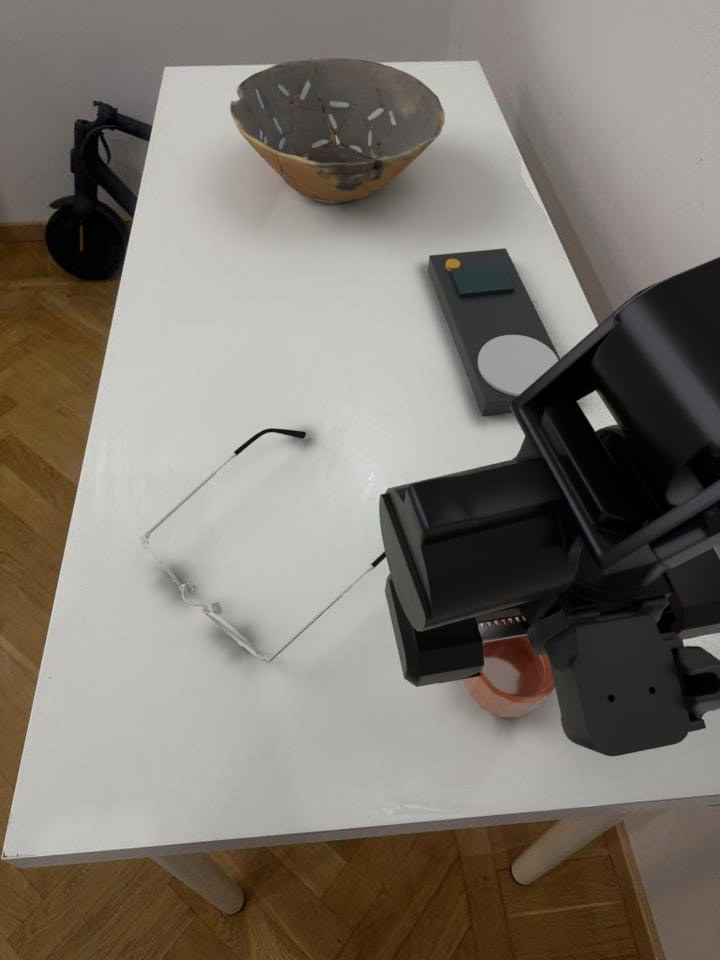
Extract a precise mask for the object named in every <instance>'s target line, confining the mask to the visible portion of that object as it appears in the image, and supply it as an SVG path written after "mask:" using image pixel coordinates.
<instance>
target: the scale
mask: <svg viewBox="0 0 720 960" xmlns="http://www.w3.org/2000/svg"><path fill="white" fill-rule="evenodd" d="M427 272H428V275H429V277H430V281H431V283H432V286H433V288H434V291H435V294H436V297H437V299H438V301H439V305H440V308H441V310H442V312H443V315H444V318H445V320H446V323H447V325H448V328H449V331H450V333H451V336H452V339H453V341H454V344H455V348H456V350H457V352H458V355H459V358H460V360H461V364H462V365H463V368H464V369H463V370H464V371H465V374H466V376H467V379H468V382H469V385H470V388H471V390H472V393H473V395H474V398H475V401H476V404H477V406H478V408H479V411H480V414H481V416H482V417H485V416H494V415H500V414H501V415H502V414H508V413H509V414H511V413H513V412H512V411H511V409H510V404H511V402H512V401H513V400H514V399H515V398H517V397H518V396H519V395H520V394H521V393H522V392H523V391H524V390H526V389H527V388H528V387H529V386H530V385H531V384H532V383H534V382H535V381H536V380H537V379H538V378H539V377H540V376H542V375H543V374H544V373H545V372H546V371H547V370H548V369H550V368H551V367H552V366H553V365H554V364H555V363H556V362H557V361H559V360H560V359H561V358H560V355H559V353H558V351H557V349H556V347H555V345H554V343H553V341H552V339H551V337H550V335H549V333H548V331H547V329H546V327H545V325H544V323H543V320H542V319H541V317H540V315H539V313H538V311H537V308H536V307H535V305H534V303H533V300H532V298H531V297H530V294H529V292H528V290H527V288H526V286H525V285H524V282H523V280H522V278H521V276H520V274H519V273H518V269H517V268H516V266H515V264H514V262H513V261H512V258H511V256H510V254H509V252H508V249H507V248H505V247H504V248H493V249H484V250H483V249H482V250H474V251H473V250H472V251H463V252H452V253H441V254H430V255H429V256H428V264H427Z"/></svg>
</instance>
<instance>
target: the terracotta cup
mask: <svg viewBox="0 0 720 960" xmlns="http://www.w3.org/2000/svg"><path fill="white" fill-rule="evenodd" d="M522 617H523V616H522ZM518 618H519V617H516V618H515V619H516V620H517V621H518ZM511 619H512V618H510V619H508V620H509V621H510V623H511ZM523 619H524V617H523ZM524 620H525V619H524ZM501 621H502V622H503V624H504V620H501ZM494 622H495V624H496V625H497V621H494ZM490 623H491V622H487V624H488V625H489V626H490ZM483 655H484V667H483V668H482V670H481V672H480V673H481V676H478V677H472V678H467V679H464V683H465V685H466V689H467V692H468V693H469V696H470V697H472V698H473V700H474V701H475V702H476V703H477V704H478V706H479V707H480V708H481V709H483V711H484V710H485V711H486V712H488V713H491V714H493V715H495V716H497V717H499V718H522V717H523V716H525V715H528V714H529V713H531V712H532V711H535V710H536V709H538V707H539V706H540V705H541V704H542V703H543V702H544V701H545V700H546V699H547V698H548V697H549V696H550V695H551V694H552V693H553V691H554V690H555V685H554V680H553V676H552V671H551V665H550V663H549V660H548V657H547V654H542V655H536V656H534V653H533V650H532V647H531V644H530V641H529V638H528V635H527V636H521V637H515V638H510V639H504V640H498V641H492V642H486V643H483Z"/></svg>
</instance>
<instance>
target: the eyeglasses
mask: <svg viewBox="0 0 720 960" xmlns="http://www.w3.org/2000/svg"><path fill="white" fill-rule="evenodd" d="M270 433H275V434H280V435H285V436H290V437H293V438H297V439H301V440H303V439H305V438H306V436H307V432H306V431H303V430H295V429H288V428H287V429H286V428H274V427H273V428H271V427H269V428H266V429H263V430H261V431H259V432H257V433H256V434H254V435H253V436H252V437H250V438H248V440H247V441H245V442H244V443H243V444H241V445H240V446H239V447H237V448H236V450H234V451H233V452H232V454H231V455H230V456H229V458H228V459H227V460H226V461H225V462H224V463H222V464H221V465H220V466H219V467H218V468H217V469H216V470H214V471H212V472H211V473H210V474H209V475H208V476H207V477H206V478H204V479H203V481H201V482H200V483H199V484H198V485H197V486H195V488H193V489H192V491H190V492H189V493H188V494H187V495H186V496H185V497H183V498H182V499H181V500H180V501H179V502H178V503H177V504H175V505H174V506H173V507H172V508H171V509H170V510H169V511H168V512H167V513H166V514H164V515H163V516H162V517H161V518H160V519H159V520H157V522H155V524H153V525H152V526H151V527H150V528H149V529H148V530H147V531H146V532H144V533H143V534H142V535H141V536H140V537H139V539H140V541H141V545H142V547H144V548H145V549H146V550H148V552H149V553H150V554H151V555H152V557H153V558H154V559H155V560H156V562H157V563H158V564H159V565H160V566H161V567H162V568H163V570H164V571H165V572H166V573H167V574H168V575H169V576H170V578H171V580H172V581H173V582H174V583H175V584H176V585H177V586H178V588H179V590H180V592H181V597H182V599H183V600H184V602H185V603H187V604H188V605H190V606H194V607H202V608H201V609H202V610H201V612H202V614H204V615H205V616H207V617H208V618H209V619H210V620H211V621H212V622H213V623H214V624H215V625H216V626H218V627H219V628H220V629H221V630H222V631H223V632H224V633H225V634H227V636H229V637H230V638H232V639H233V640H234V641H235V642H236V643H237V645H238V646H240V647H241V648H244V649H245V650H247V651H248V652H249V653H251V654H252V655H253V656H255V657H257V658H258V659H259V660H260V661H262V662H263V661H265V662H267V664H270V663H271V662H272V661H273V660H274V659H275V658H276V657H277V656H278V655H280V654H281V653H282V652H283V651H284V650H285V649H286V648H287V647H288V646H290V644H292V643H293V642H294V641H295V640H297V638H298V637H300V636H301V634H302V633H304V632H305V631H306V630H307V629H308V628H309V627H310V626H311V625H312V624H314V623H315V621H317V620H318V619H319V618H320V617H321V616H322V615H324V613H326V612H327V610H329V609H330V608H331V607H332V606H333V605H334V604H335V603H336V602H337V601H339V600H340V599H341V598H342V597H343V596H344V595H345V594H347V592H348V591H349V590H350V589H352V587H353V586H354V585H355V584H357V582H359V581H360V580H361V579H362V578H363V577H364V576H365V575H366V574H368V573H369V572H371V571H373V570H374V569H375V568H377V566H378V565H380V563H382V562H383V561H384V560H385V558H386V554H385V550H383V552H382V553H381V554H380V555H379V556H378V557H377V558H375V560H373V561H372V562H371V563H370V565H369V566H368V567H367V568H366V570H365V571H364V572H363V573H362V574H361V575H359V577H357V578H356V579H355V580H354V581H353V582H352V583H351V584H349V585H348V586H347V587H345V589H344V590H343V591H342V592H340V593H339V594H338V595H337V596H336V597H335V598H334V599H332V601H331V602H329V603H328V604H327V605H326V606H325V607H324V608H323V609H322V610H320V611H319V612H318V613H317V614H316V615H315V616H314V617H313V618H312V619H310V621H308V622H307V623H306V624H305V625H304V626H303V627H301V628H300V629H299V630H298V631H297V632H296V633H295V634H294V635H293V636H291V638H289V639H288V640H287V641H286V642H285V643H284V644H282V646H281V647H279V648H278V649H277V650H276V651H271V652H270V653H269V654H268V653H267V652H262V651H260V650H259V649H258V648H257V647H256V646H255V645H254V644H253V643H251V642H250V640H249V639H247V638H246V637H245V636H244V635H243V634H242V633H241V632H239V630H237V629H236V628H235V627H233V626H232V625H231V624H230V623H229V622H227V621H226V620H224V619H223V618H222V617H220V615H222V614H223V609H222V607H221V604H220V601H217V600H215V601H212V603H211V609H212V611H211V610H210V609H209V608H208V606H207V604H205V603H192V602H190V601H188V600H187V599H186V598H185V595H186V596H188V595H190V592H189V589H191V594H194V593H195V591H196V589H197V585H198V581H194V583H191V582H187V583H182V582H180V580H179V579H178V577H176V575H175V574H174V573H173V572H172V571H171V569H169V567H168V566H167V564H166V563H165V562H164V561H163V560H162V559H161V558H160V557H159V555H158V554H157V553H156V551H154V550H153V548H152V547H151V546H150V544H149V540H148V539H149V538H150V537H151V534H152V533H153V532H154V531H155V530H157V528H158V527H159V526H161V525H162V524H163V523H164V522H165V521H166V520H168V518H170V517H171V516H172V515H173V514H174V513H175V512H176V511H177V510H178V509H180V507H182V505H184V504H185V503H186V502H187V501H188V500H189V499H190V498H191V497H192V496H194V495H195V494H196V493H197V492H198V491H199V490H200V489H201V488H202V487H204V485H206V484H207V483H208V482H209V481H210V480H211V479H212V478H213V477H214V476H215V475H217V473H218V472H219V471H220V470H221V469H222V468H223V467H224V466H226V465H227V464H228V463H229V462H230V461H231V460H233V459H235V458H236V457H237V456H239V455H240V454H241V453H243V451H244V450H246V449H247V448H248V447H249V446H250V445H251V444H253V443H254V442H255V441H257V440H258V439H259V438H261V437H263V436H264V435H266V434H270ZM187 585H189V586H188V587H189V589H188V588H187Z"/></svg>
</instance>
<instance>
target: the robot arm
mask: <svg viewBox="0 0 720 960" xmlns="http://www.w3.org/2000/svg"><path fill="white" fill-rule="evenodd" d="M594 392H595V393H597V395H598V397H599V398H600V399H601V401H602V403H603V404H604V406H605V407H606V408H607V410H608V412H609V413H610V415H611V416H612V418H613V420H614V421H615V423H616V424H611V425H607V426H605V427H602V428H599V429H597V430H595V428H594V427H593V425H592V423H591V422H590V420H589V419H588V417H587V416H586V414H585V412H584V410H583V408H581V406H580V404H579V403H578V401H580V400H582V399H584V398H585V397H587V396H588V395H590V394H592V393H594ZM510 409H511V411H512V412H511V413H512V414H513V416H514V418H515V420H516V421H517V423H518V426H519V427H520V429H521V431H522V433H523V435H524V438H523V440H522V443H521V445H520V448H519V450H518V452H517V454H516V456H514V457H513V458H512V459H509V460H504V461H499V462H496V463H492V464H487V465H481V466H479V467H475V468H469V469H466V470H461V471H457V472H452V473H448V474H443V475H440V476H436V477H435V476H434V477H431V478H426V479H422V480H417V481H414V482H409V483H405V484H400V485H397V486H393V487H388V488H387V489H386V490H385V493H381V494H380V495H379V501H378V514H379V526H380V532H381V539H382V545H383V549H384V550H383V551H385V554H386V557H385V558H386V562H387V566H388V570H389V574H388V576H387V577H386V579H385V586H384V593H385V597H386V603H387V607H388V611H389V615H390V621H391V625H392V629H393V635H394V639H395V644H396V648H397V654H398V658H399V661H400V667H401V670H402V671H401V672H402V675H403V679H404V680H405V681H407V682H408V683H410V684H412V685H413V686H415V688H419V687H425V686H430V685H435V684H436V685H437V684H444V683H449V682H455V681H460V680H465V679H467V678H472V677H478V676H481V673H480V672H481V670H482V668H483V667H484V655H483V643H486V642H492V641H498V640H504V639H510V638H515V637H521V636H527V635H528V638H529V641H530V644H531V647H532V650H533V653H534V656H536V655H542V654H547V657H548V660H549V663H550V665H551V671H552V676H553V680H554V685H555V688H554V690H555V693H556V698H557V703H558V707H559V711H560V723H561V727H562V730H563V733H564V735H565V737H566V738H567V739H568V740H569V741H570V742H571V743H573V744H575V745H577V746H580V747H583V748H585V749H588V750H590V751H593V752H596V753H599V754H601V755H604V756H606V757H618V756H624V755H629V754H633V753H639V752H645V751H648V750H654V749H659V748H663V747H669V746H674V745H677V744H679V743H681V742H683V741H684V740H685V739H686V738H687V736H688V735H689V733H692V732H693V733H694V732H696V731H701V730H703V729H704V730H705V729H707V725H706V722H705V719H704V718H703V717H704V715H705V714H706V713H708V712H711V711H717V710H719V709H720V659H719V658H718V657H716V656H714V655H713V654H712V653H710V652H709V651H707V650H706V649H705V648H704V647H702V646H699V645H684V640H689V639H695V638H698V637H703V636H710V635H713V634H720V552H719V551H718V549H717V546H719V545H720V256H718V257H715V258H713V259H710V260H708V261H705V262H703V263H701V264H698V265H696V266H693V267H690V268H688V269H686V270H683V271H681V272H678V273H676V274H674V275H670V276H669V277H667V278H664V279H663V280H660V281H658V282H655V283H653V284H651V285H648V286H647V287H645V288H643V289H641V290H640V291H638V292H636V293H635V294H634V295H633V296H631V297H630V298H628V299H627V300H626V301H624V302H623V303H622V304H621V305H620V306H618V308H616V310H614V311H613V312H612V313H611V314H609V316H607V317H606V318H605V319H604V320H602V322H601V323H599V324H598V325H597V326H596V327H595V328H594V329H593V330H591V331H590V332H589V333H588V334H587V335H586V336H584V338H582V339H581V340H580V341H579V342H578V343H577V344H576V345H574V346H573V347H572V348H571V349H570V350H568V351H567V353H565V354H564V355H563V356H562V357H561V358H560V360H559V361H557V362H556V363H555V364H554V365H553V366H552V367H551V368H550V369H548V370H547V371H546V372H545V373H544V374H543V375H542V376H540V377H539V378H538V379H537V380H536V381H535V382H534V383H532V384H531V385H530V386H529V387H528V388H527V389H526V390H524V391H523V392H522V393H521V394H520V395H519V396H518V397H517V398H515V399H514V400H513V401H512V402H511V404H510ZM516 617H519V618H518V621H517V620H516V619H515V618H516ZM523 617H524V619H525V620H524V619H523ZM510 618H512V619H511V623H510V621H509V620H508V619H510ZM501 620H504V624H503V622H502V621H501ZM494 621H497V625H496V624H495V622H494ZM488 622H491V623H490V626H489V625H488V624H487V623H488ZM481 624H482V625H481Z"/></svg>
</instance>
